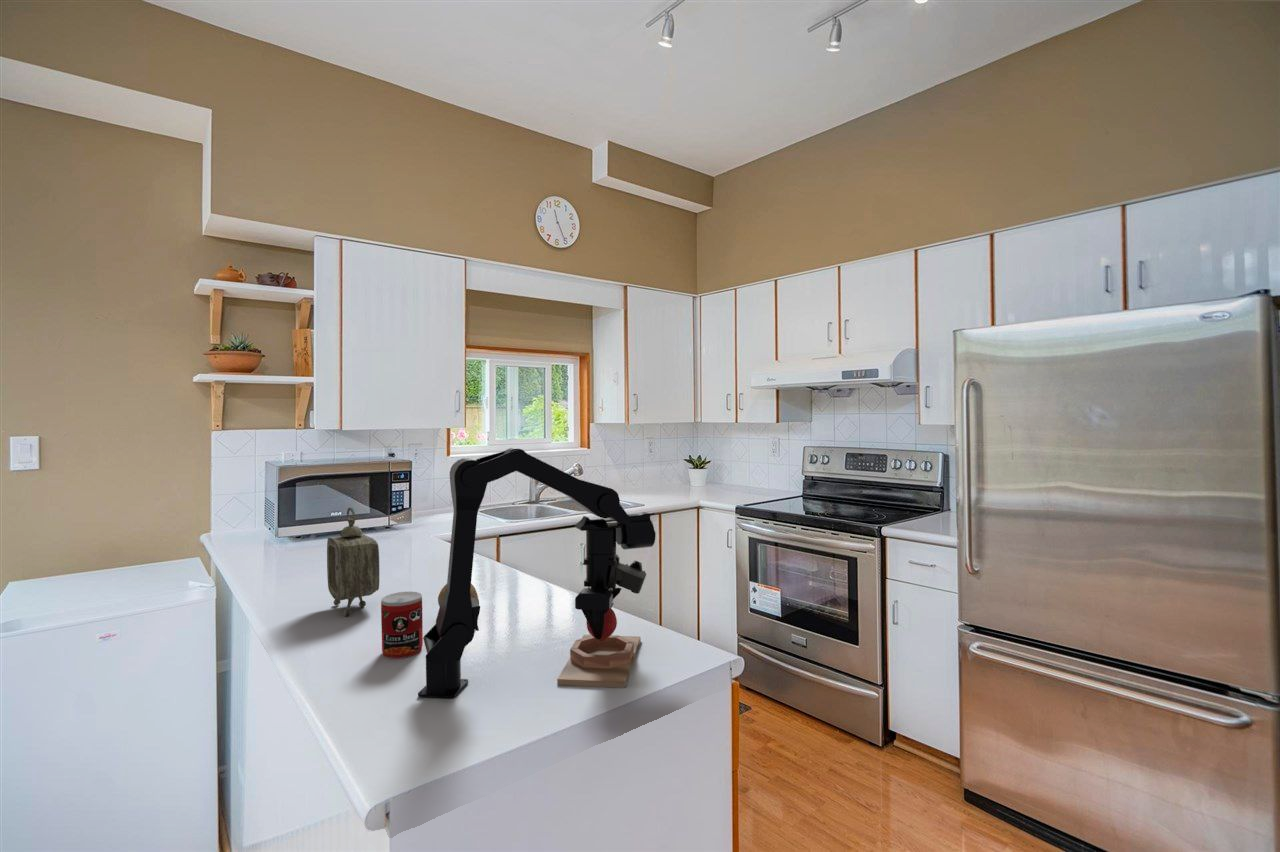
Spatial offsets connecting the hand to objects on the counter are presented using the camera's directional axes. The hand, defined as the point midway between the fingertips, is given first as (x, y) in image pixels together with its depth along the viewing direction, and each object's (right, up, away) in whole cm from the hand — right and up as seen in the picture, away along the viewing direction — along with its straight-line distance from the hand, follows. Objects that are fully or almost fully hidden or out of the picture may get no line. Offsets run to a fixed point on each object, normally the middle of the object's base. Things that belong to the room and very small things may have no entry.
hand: (601, 633), depth 118 cm
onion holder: (0, -5, 0) cm, 5 cm away
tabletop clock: (-63, -6, +34) cm, 72 cm away
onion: (0, -2, 0) cm, 2 cm away
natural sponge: (-34, -6, +23) cm, 42 cm away
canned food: (-40, -6, +6) cm, 41 cm away
